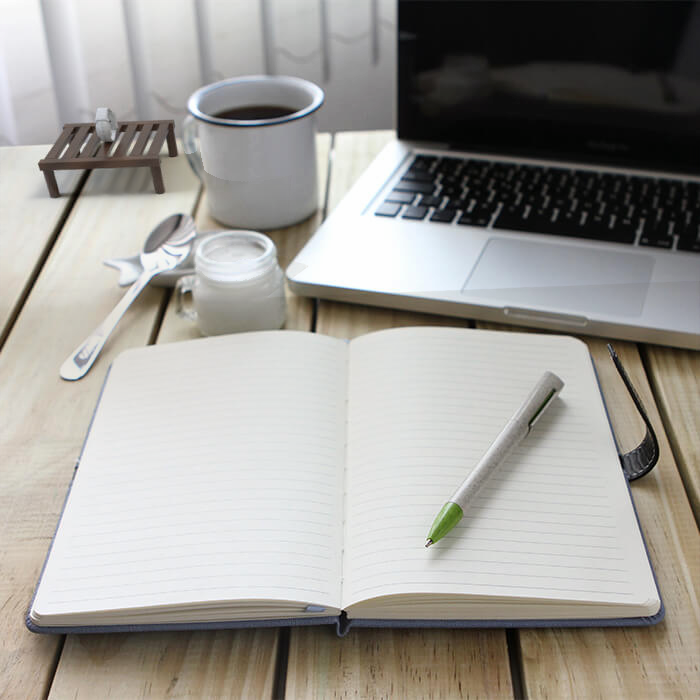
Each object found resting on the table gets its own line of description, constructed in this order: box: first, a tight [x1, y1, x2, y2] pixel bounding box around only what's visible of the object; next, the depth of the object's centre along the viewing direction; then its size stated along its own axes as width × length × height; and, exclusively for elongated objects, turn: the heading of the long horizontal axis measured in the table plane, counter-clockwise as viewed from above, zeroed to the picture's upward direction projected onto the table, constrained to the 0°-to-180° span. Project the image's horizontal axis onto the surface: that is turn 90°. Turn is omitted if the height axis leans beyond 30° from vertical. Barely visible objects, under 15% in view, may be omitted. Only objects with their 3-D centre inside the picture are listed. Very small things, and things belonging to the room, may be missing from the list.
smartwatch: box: [94, 107, 118, 143], centre depth 94 cm, size 4×2×4 cm, turn 3°
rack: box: [37, 119, 179, 199], centre depth 97 cm, size 14×12×4 cm
